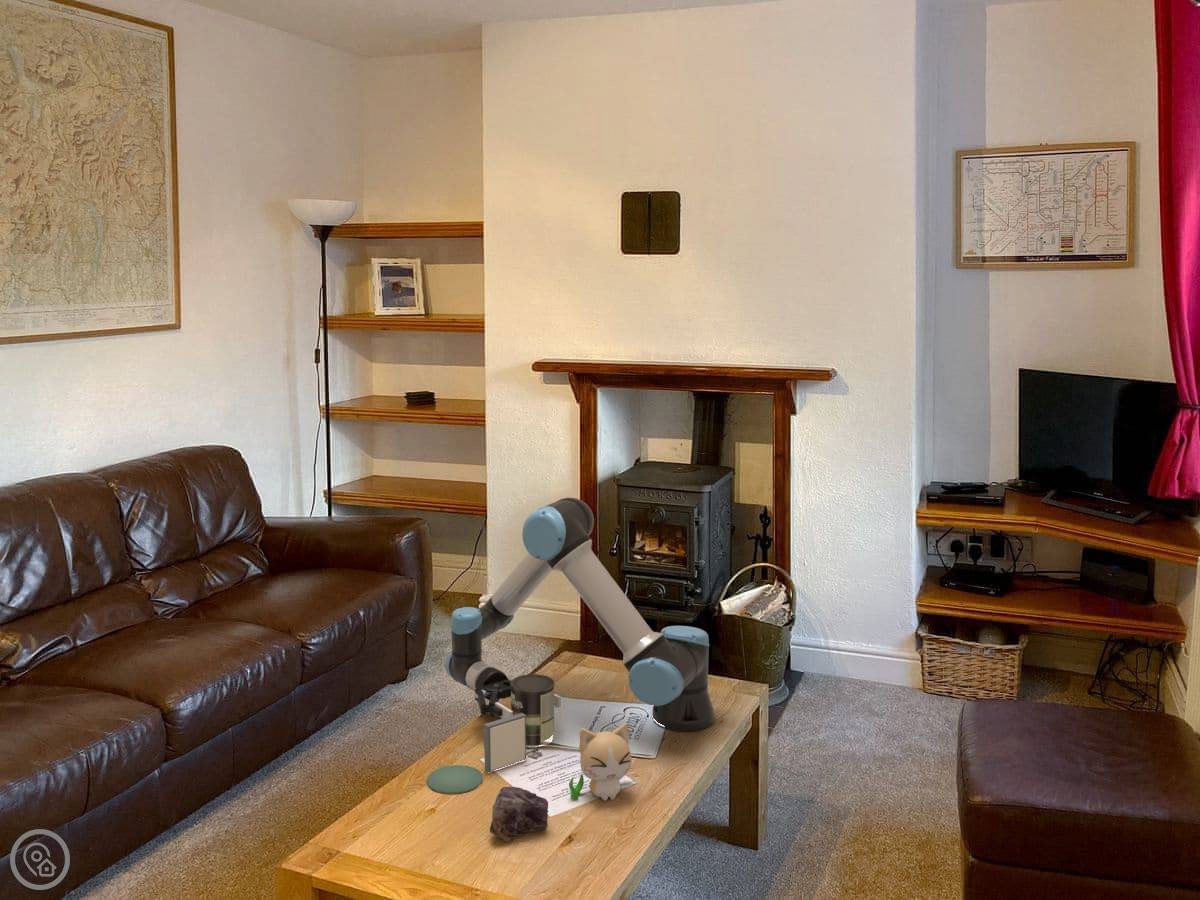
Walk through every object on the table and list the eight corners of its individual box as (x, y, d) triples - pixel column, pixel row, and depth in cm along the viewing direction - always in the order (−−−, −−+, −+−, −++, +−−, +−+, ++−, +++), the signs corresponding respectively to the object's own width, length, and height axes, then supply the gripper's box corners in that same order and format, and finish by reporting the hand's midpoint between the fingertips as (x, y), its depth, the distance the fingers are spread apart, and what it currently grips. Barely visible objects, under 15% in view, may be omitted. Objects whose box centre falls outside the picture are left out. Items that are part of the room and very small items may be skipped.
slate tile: (484, 770, 247) (484, 724, 245) (522, 758, 253) (521, 712, 251) (489, 773, 246) (488, 727, 244) (526, 761, 252) (526, 715, 250)
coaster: (494, 778, 244) (494, 775, 244) (455, 799, 234) (455, 797, 234) (454, 762, 251) (454, 760, 251) (415, 782, 241) (415, 780, 241)
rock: (549, 843, 220) (532, 817, 229) (556, 802, 219) (539, 778, 228) (493, 846, 216) (478, 820, 225) (499, 805, 214) (484, 780, 223)
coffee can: (520, 751, 256) (519, 694, 254) (504, 733, 265) (504, 678, 263) (561, 743, 261) (561, 686, 258) (544, 726, 270) (544, 671, 267)
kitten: (575, 810, 230) (575, 742, 228) (563, 787, 240) (563, 722, 237) (644, 800, 235) (644, 733, 232) (629, 778, 244) (630, 714, 241)
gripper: (529, 683, 285) (579, 711, 268) (443, 708, 270) (490, 739, 253) (529, 655, 283) (579, 681, 267) (443, 678, 268) (490, 708, 252)
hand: (536, 709), depth 260 cm, fingers open, 13 cm apart
